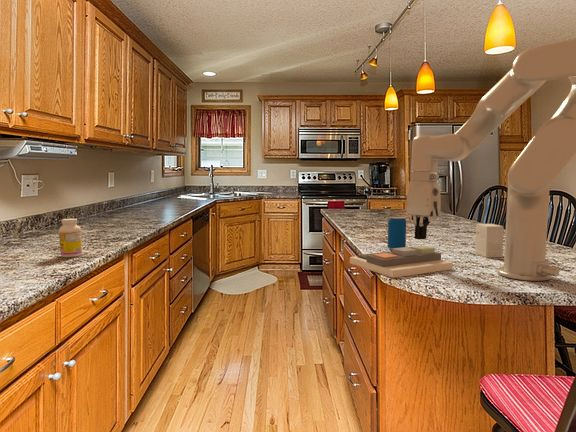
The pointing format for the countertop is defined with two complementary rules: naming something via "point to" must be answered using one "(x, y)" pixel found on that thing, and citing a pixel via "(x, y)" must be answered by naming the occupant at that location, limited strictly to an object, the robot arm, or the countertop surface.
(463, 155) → the robot arm
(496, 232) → the small box
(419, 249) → the key sage
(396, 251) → the key slate
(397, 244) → the beverage can
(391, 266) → the keypad
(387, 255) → the key terracotta
